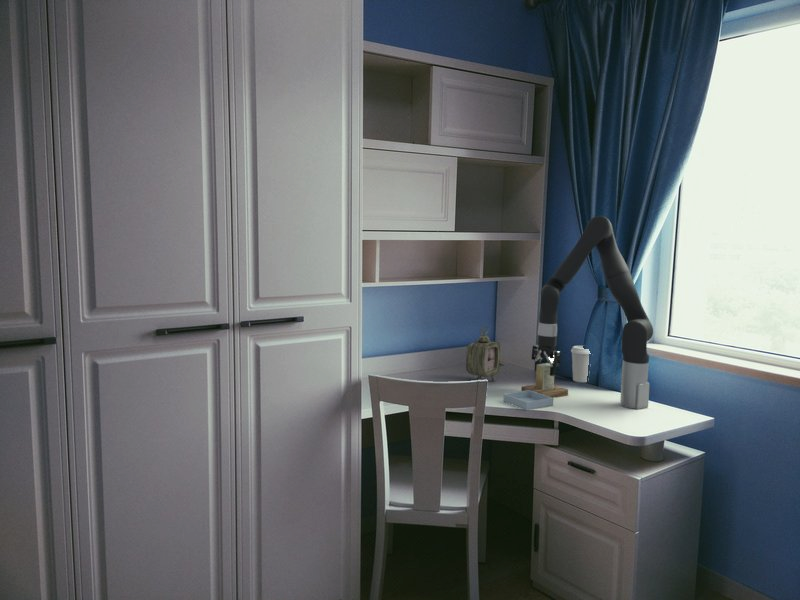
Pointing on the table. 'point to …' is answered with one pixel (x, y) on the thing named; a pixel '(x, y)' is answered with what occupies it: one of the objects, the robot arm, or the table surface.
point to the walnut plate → (547, 391)
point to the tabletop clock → (483, 357)
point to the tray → (528, 400)
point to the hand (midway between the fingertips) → (544, 373)
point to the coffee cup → (580, 363)
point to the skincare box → (544, 377)
